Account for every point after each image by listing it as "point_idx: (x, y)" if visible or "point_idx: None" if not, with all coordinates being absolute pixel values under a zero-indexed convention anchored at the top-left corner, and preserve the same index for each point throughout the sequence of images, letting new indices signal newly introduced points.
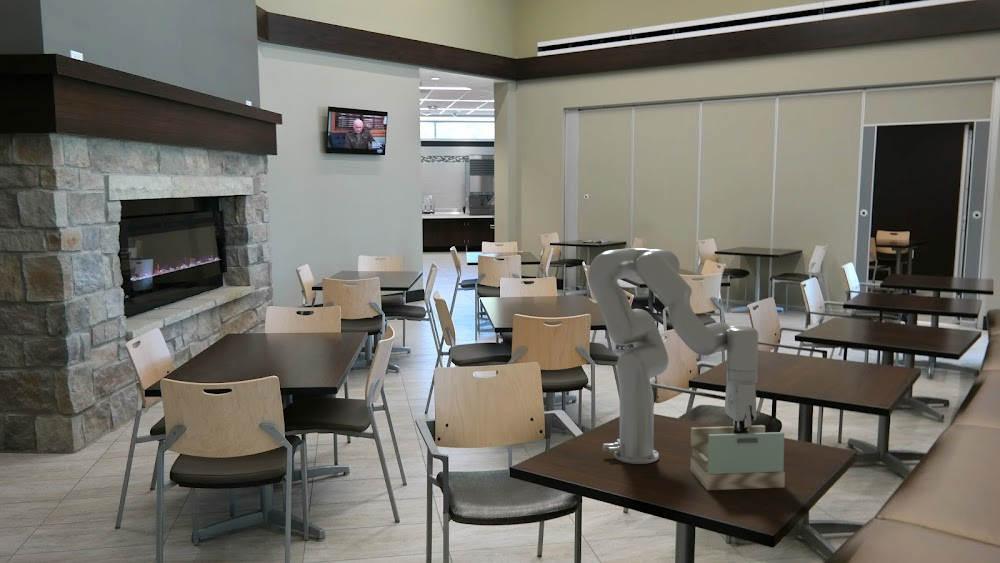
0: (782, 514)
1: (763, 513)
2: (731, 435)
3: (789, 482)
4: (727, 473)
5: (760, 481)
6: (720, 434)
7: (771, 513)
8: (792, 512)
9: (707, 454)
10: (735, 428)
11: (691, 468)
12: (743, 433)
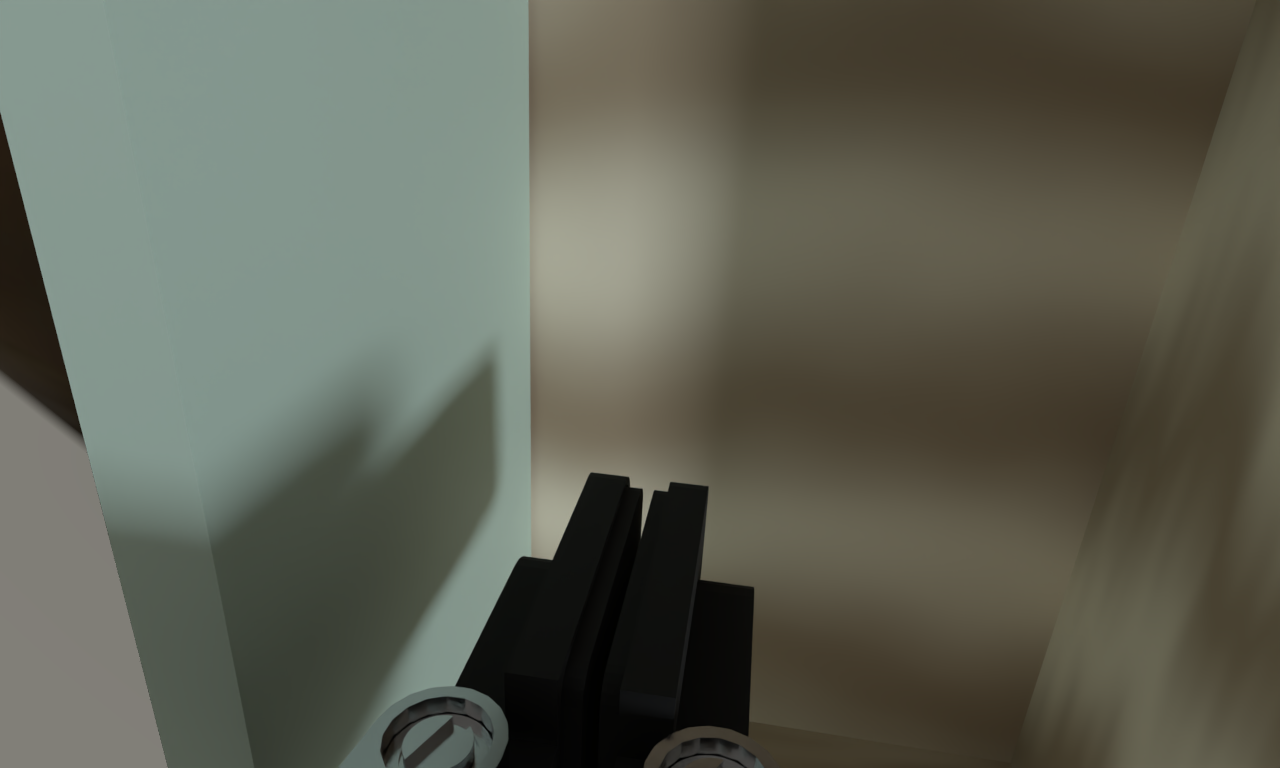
0: (18, 339)
1: (10, 202)
2: (75, 373)
3: None
4: None
5: None
6: (78, 47)
7: (22, 266)
8: (67, 425)
9: (1237, 140)
10: (679, 748)
11: None
12: (233, 711)
